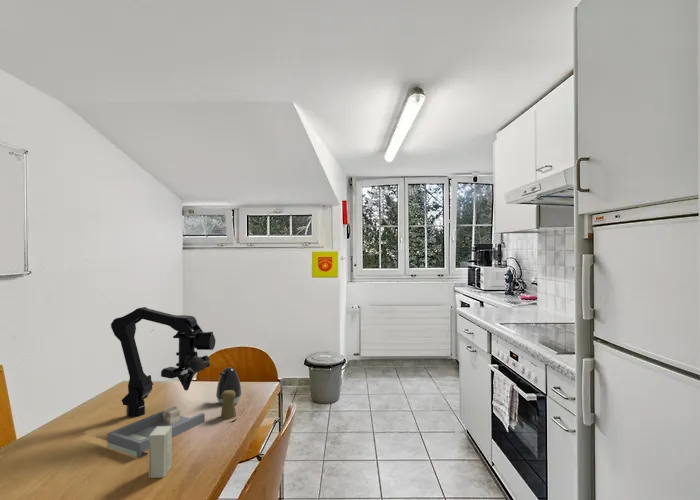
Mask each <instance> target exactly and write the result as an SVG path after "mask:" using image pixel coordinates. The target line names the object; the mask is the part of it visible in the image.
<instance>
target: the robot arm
mask: <svg viewBox="0 0 700 500" xmlns="http://www.w3.org/2000/svg"><path fill="white" fill-rule="evenodd" d="M142 320H145V321H148V322H149V321H150V322H152V323H153V322H154V323H156V324H161V325H165V326H168V327H170V328H172V329H173V330H174V331H176V332H175V333H176V334H174V335H173V336H172V338H173V339H178V352H175V356H178V362H177V363H176V362H175V363H176V364H175V365H176V367H174V366H169V367H164V368H162V370H161V371H160V377H162V378H167V379H175V378H177V379H178V380H179V382H180V385H181V386H182V388H183V389H184V391H185V392H186V391H189V389H190V386H191V383H192V380H193V378H194V376H195V375H196V374H197V373H199V372H200V371H205V369H206V368H209V367H211V366H210V356H208V355H203V356H198V351H199V350H201V351H204V350H205V351H213V350H214V349H215V346H216V337H215V335H214V331H203V329H202V328H201V327H200V325H199V324H198V320H197V319H196V317H194V315H184V314H181V315H178V314H175V315H174V314H170V313H167V312H163V311H159V310H155V309H152V308H148V307H146V306H141V307H138V308H136V309H135V310H133V311H132V312H129V313H127V314H126V315H123V316H120V317H116V318H114V319H113V320H112V322H111V323H110V328H111V330H112V332H113V334H114V337H116V338H117V340H119V342H120V346H121V349H122V353H123V357H124V360H125V361H124V362H125V363H126V365H125V366H126V368H127V372H128V375H129V380H128V383H127V389H128V390H127V391H128V393H127V394H125V396H124V397H123V398H122V399H121V402H122V405H123V406H126V410H125V411H126V413H125V414H126V416H127V417H129V418H132V417H134V418H135V417H136V418H137V417H138V418H139V417H142V416H144V415H145V414H146V405H145V402H146V401H145V399H147V398H148V396H149V395H150V393H151V392H152V391H153V386H154V382H153V381H152V375H151V374H149V375H147V374H146V373H145V372H144V369H143V365H142V363H141V358H140V354H139V350H138V346H137V342H136V339H135V336H136V332H137V324H138V323H139V322H141V321H142ZM195 349H196V350H198V351H196V350H195Z"/></svg>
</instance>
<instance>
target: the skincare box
mask: <svg viewBox="0 0 700 500" xmlns="http://www.w3.org/2000/svg"><path fill="white" fill-rule="evenodd" d="M172 439H173V437H172V426H157V427H156V428H155V429H154V430H153V432H152V433H151V434H150V435H149V449H148V479H155V478H158V479H161V478H163V479H164V478H165V476H167V473H168V472H169V471H170V470H171V467H172V449H173V448H172V446H173V445H172V442H173V441H172Z"/></svg>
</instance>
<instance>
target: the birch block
mask: <svg viewBox="0 0 700 500" xmlns="http://www.w3.org/2000/svg"><path fill="white" fill-rule="evenodd" d="M162 411H163V422H164V423H167V424H172V423H174V422H177V421H179V417H180V416H181V415H180V409H179V408H177V409H176V408H172V407H170V409H169V408H167V409H165V411H164V410H162Z"/></svg>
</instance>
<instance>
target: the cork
mask: <svg viewBox="0 0 700 500" xmlns="http://www.w3.org/2000/svg"><path fill="white" fill-rule="evenodd" d="M235 395H236V394H235V391H233V390H226V391H224V392H223V393H222V395H221V398H222V400H223V404H221V411H220V412H221V413H220V418H221V419H223V420H231V419H233V418H235V419H233V420H231V421H230V422H228V424H231V423H234V422H236V421H237V418H236V417H237V412H236V404H235V403H234V399H235Z"/></svg>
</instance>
